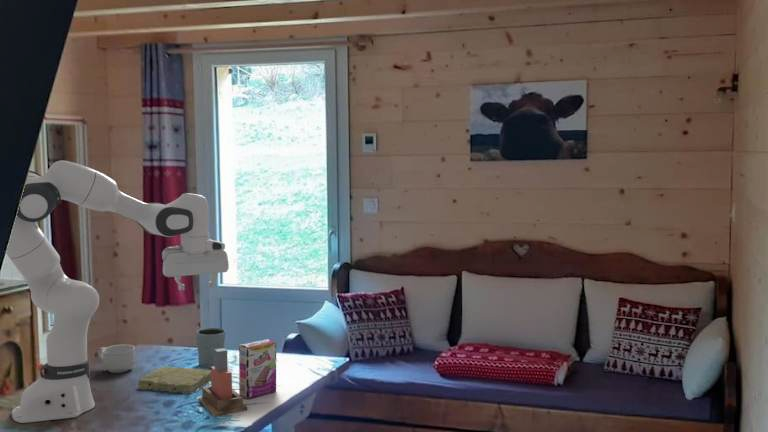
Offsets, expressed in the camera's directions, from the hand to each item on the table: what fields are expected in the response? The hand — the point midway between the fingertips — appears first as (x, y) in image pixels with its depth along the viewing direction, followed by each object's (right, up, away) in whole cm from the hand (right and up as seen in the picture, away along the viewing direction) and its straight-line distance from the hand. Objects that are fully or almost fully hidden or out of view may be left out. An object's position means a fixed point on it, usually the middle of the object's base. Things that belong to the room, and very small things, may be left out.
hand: (196, 288), depth 240 cm
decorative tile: (-9, -33, +11) cm, 36 cm away
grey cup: (-3, -30, +34) cm, 45 cm away
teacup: (-35, -31, +27) cm, 54 cm away
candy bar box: (+19, -33, 0) cm, 39 cm away
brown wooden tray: (+10, -34, -11) cm, 37 cm away
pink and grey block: (+10, -33, -11) cm, 36 cm away
